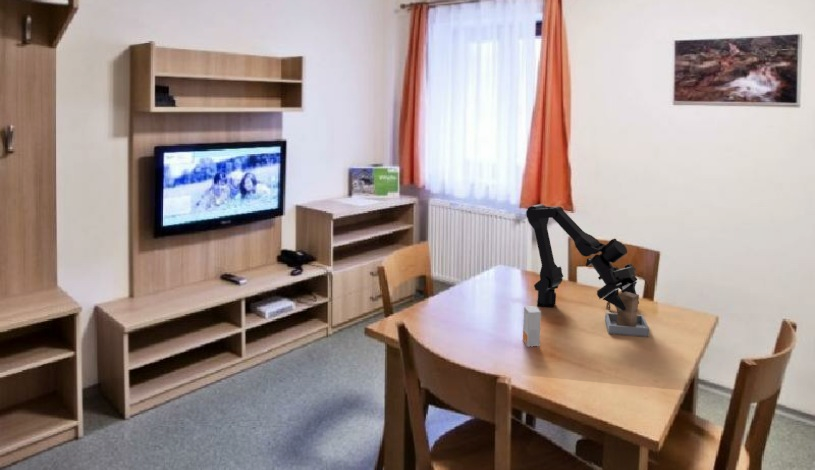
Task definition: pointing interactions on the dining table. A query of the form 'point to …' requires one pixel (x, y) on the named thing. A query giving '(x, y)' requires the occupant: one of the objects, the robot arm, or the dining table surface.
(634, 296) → the walnut block
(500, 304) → the dining table surface
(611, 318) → the tray
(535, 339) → the skincare box
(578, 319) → the dining table surface
